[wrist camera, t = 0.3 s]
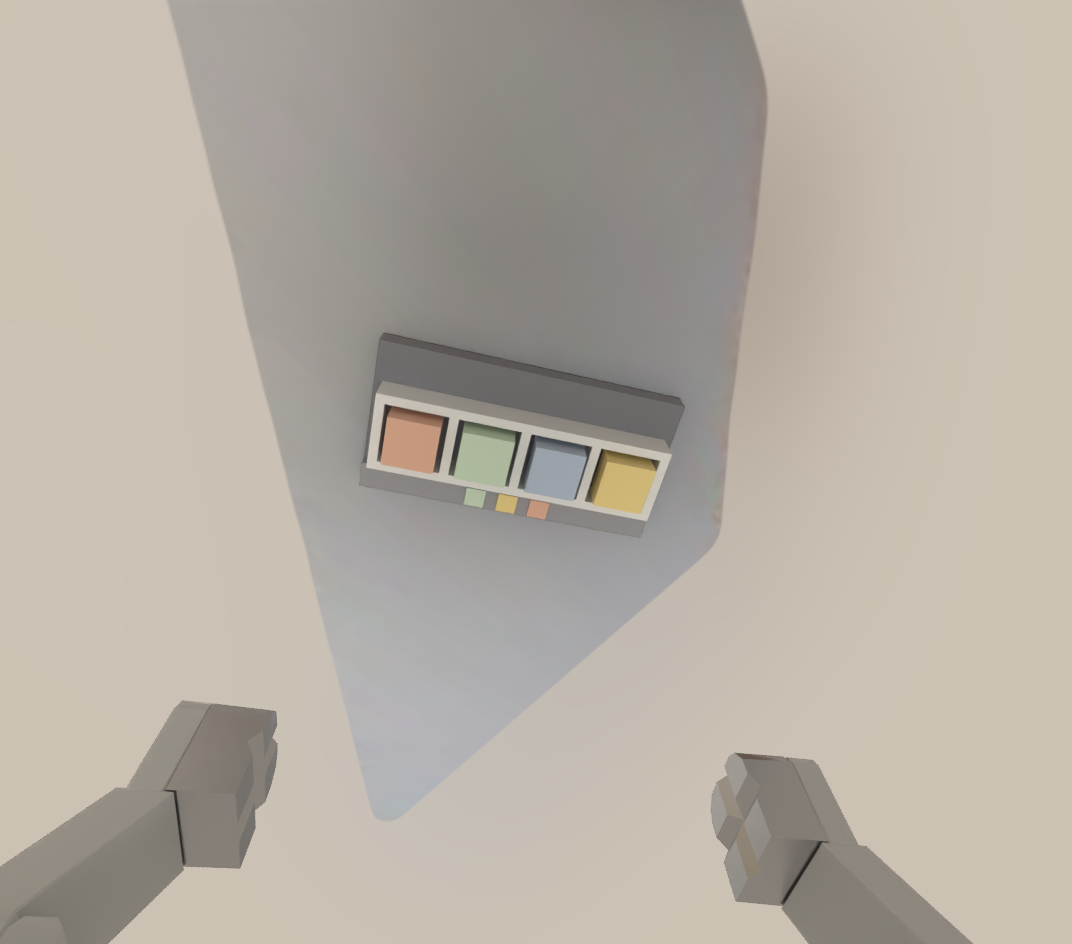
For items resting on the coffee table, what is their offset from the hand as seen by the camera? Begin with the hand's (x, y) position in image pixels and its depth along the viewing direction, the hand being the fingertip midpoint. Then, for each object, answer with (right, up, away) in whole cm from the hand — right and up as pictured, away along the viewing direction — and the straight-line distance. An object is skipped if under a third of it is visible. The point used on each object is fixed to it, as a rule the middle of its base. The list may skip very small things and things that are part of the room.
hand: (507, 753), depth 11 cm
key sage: (-4, +7, +44) cm, 45 cm away
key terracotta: (-10, +8, +43) cm, 45 cm away
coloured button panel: (-1, +8, +48) cm, 49 cm away
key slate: (+2, +6, +45) cm, 45 cm away
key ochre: (+8, +5, +46) cm, 47 cm away
